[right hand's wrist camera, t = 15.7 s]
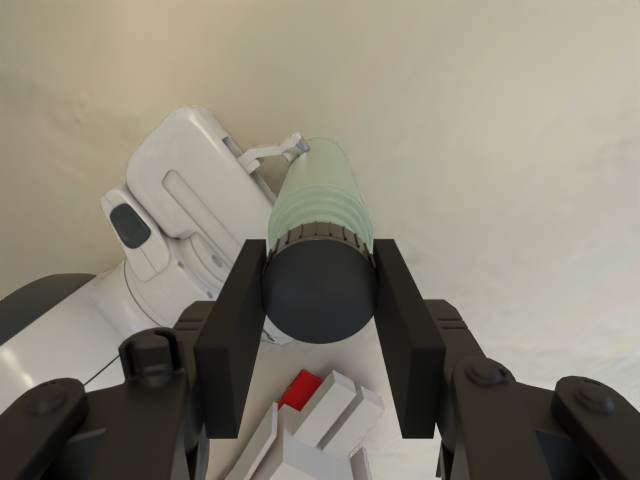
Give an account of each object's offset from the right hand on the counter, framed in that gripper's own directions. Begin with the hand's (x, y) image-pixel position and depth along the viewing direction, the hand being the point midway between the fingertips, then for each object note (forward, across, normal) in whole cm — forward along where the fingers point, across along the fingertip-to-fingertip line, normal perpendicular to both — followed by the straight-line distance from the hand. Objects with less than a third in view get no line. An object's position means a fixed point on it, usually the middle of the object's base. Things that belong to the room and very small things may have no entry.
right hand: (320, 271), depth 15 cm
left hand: (+16, -1, -1) cm, 16 cm away
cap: (-1, 0, 0) cm, 1 cm away
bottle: (+22, 0, 0) cm, 22 cm away
